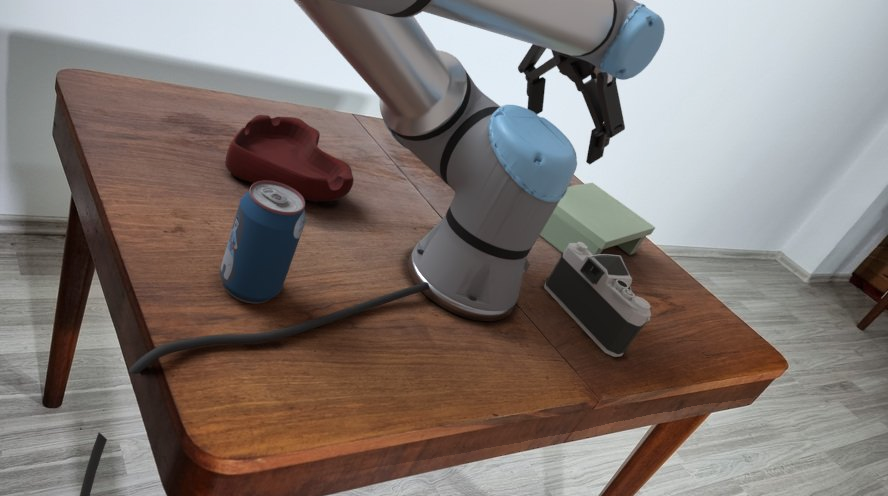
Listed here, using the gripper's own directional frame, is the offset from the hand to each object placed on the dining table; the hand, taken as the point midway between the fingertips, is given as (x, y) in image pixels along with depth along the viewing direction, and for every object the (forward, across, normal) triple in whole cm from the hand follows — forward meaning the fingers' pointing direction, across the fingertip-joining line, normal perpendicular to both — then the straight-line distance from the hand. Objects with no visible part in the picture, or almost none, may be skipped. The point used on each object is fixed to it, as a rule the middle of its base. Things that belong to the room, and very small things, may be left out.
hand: (563, 136), depth 112 cm
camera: (+7, -25, +17) cm, 31 cm away
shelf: (+17, -8, +2) cm, 19 cm away
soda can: (-18, -9, +56) cm, 60 cm away
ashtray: (-10, +13, +43) cm, 46 cm away
